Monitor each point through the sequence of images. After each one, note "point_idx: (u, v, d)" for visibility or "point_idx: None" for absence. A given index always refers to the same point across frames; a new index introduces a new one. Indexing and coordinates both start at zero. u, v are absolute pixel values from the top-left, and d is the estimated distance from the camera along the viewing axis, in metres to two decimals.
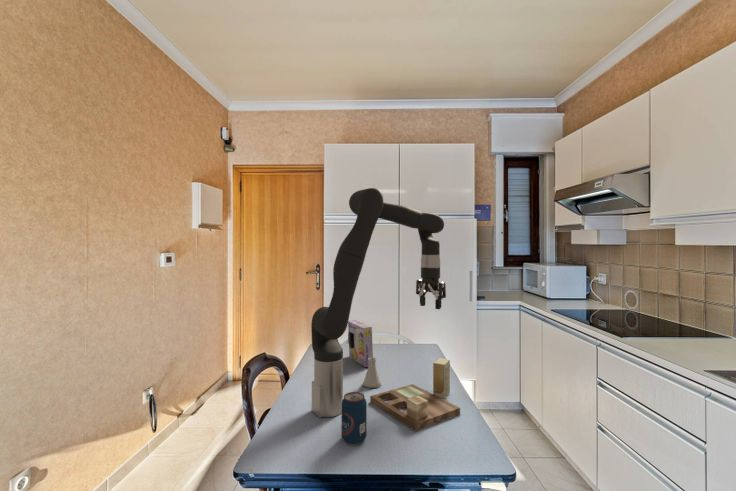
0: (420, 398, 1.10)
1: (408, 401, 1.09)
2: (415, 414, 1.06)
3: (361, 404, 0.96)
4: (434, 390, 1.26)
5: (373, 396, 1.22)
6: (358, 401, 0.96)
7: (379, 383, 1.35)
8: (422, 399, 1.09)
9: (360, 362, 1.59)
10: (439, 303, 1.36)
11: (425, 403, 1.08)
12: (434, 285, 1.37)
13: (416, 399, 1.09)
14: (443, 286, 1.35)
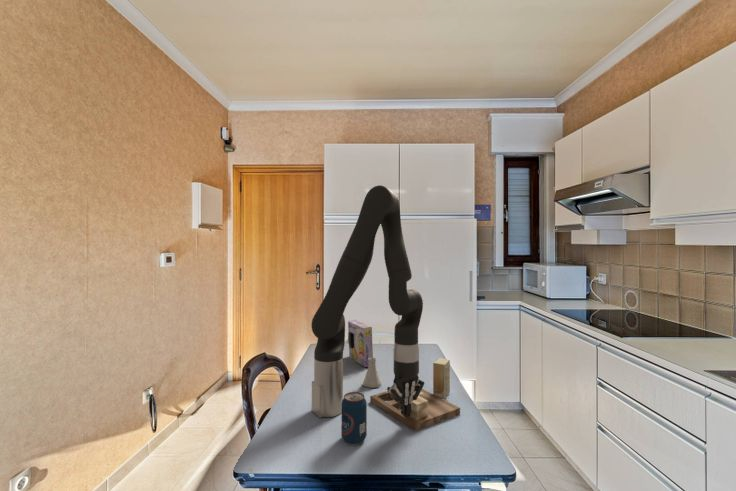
0: (420, 398, 1.10)
1: None
2: (415, 414, 1.06)
3: (361, 404, 0.96)
4: (434, 390, 1.26)
5: (373, 396, 1.22)
6: (358, 401, 0.96)
7: (379, 383, 1.35)
8: (422, 399, 1.09)
9: (360, 362, 1.59)
10: None
11: (425, 403, 1.08)
12: (415, 385, 1.07)
13: (417, 399, 1.09)
14: None
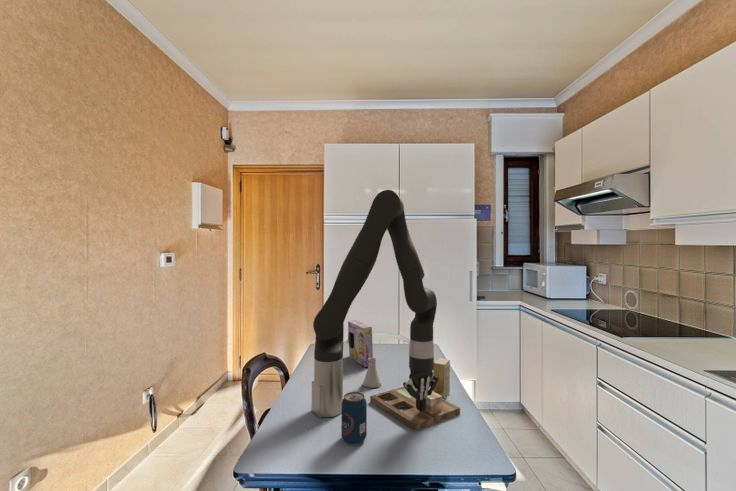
0: (434, 393, 1.13)
1: None
2: (430, 409, 1.09)
3: (361, 404, 0.96)
4: (434, 390, 1.26)
5: (373, 396, 1.22)
6: (358, 401, 0.96)
7: (379, 383, 1.35)
8: (436, 394, 1.12)
9: (360, 362, 1.59)
10: None
11: (439, 398, 1.11)
12: (430, 380, 1.10)
13: (431, 395, 1.12)
14: None
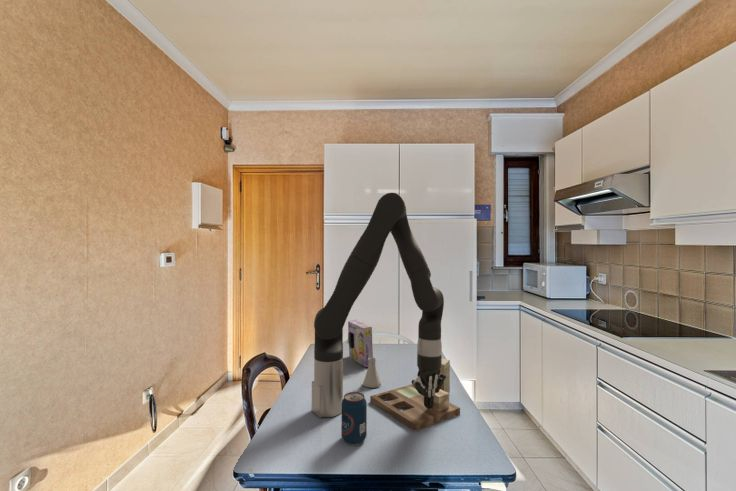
0: (441, 391, 1.15)
1: None
2: (438, 406, 1.11)
3: (361, 404, 0.96)
4: None
5: (373, 396, 1.22)
6: (358, 401, 0.96)
7: (379, 383, 1.35)
8: (443, 392, 1.14)
9: (360, 362, 1.59)
10: None
11: (447, 395, 1.13)
12: (438, 378, 1.12)
13: (438, 392, 1.14)
14: None
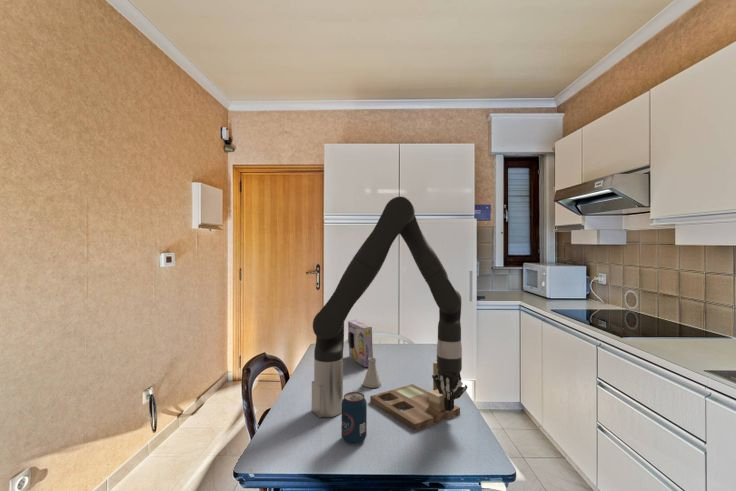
0: None
1: (430, 394, 1.14)
2: (438, 406, 1.11)
3: (361, 404, 0.96)
4: None
5: (373, 396, 1.22)
6: (358, 401, 0.96)
7: (379, 383, 1.35)
8: None
9: (360, 362, 1.59)
10: None
11: None
12: None
13: (438, 392, 1.14)
14: None
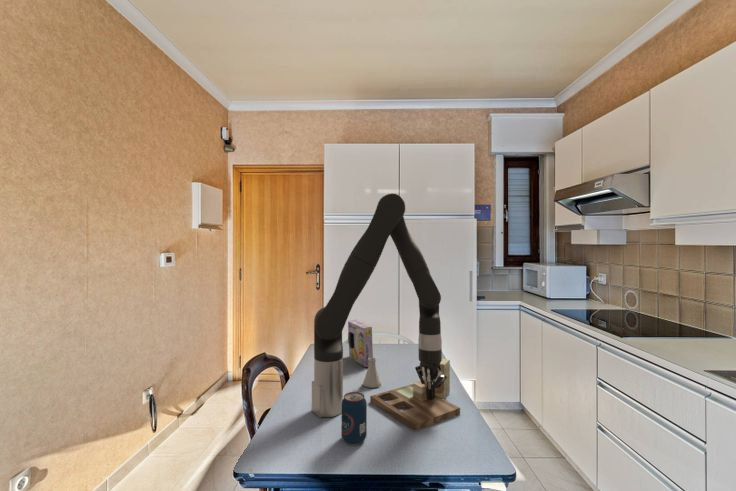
0: None
1: (414, 385, 1.21)
2: (420, 396, 1.19)
3: (361, 404, 0.96)
4: None
5: (373, 396, 1.22)
6: (358, 401, 0.96)
7: (379, 383, 1.35)
8: None
9: (360, 362, 1.59)
10: None
11: None
12: None
13: (421, 383, 1.21)
14: None
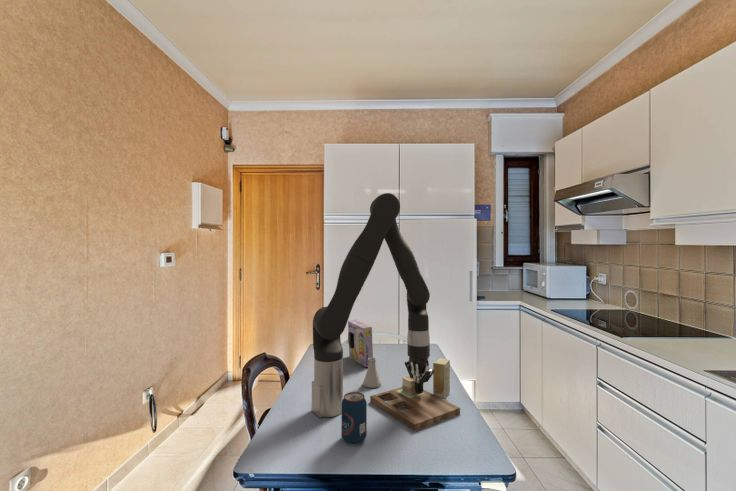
0: None
1: (403, 379, 1.26)
2: (409, 390, 1.23)
3: (361, 404, 0.96)
4: (434, 390, 1.26)
5: (373, 396, 1.22)
6: (358, 401, 0.96)
7: (379, 383, 1.35)
8: None
9: (360, 362, 1.59)
10: None
11: None
12: None
13: (410, 378, 1.26)
14: None
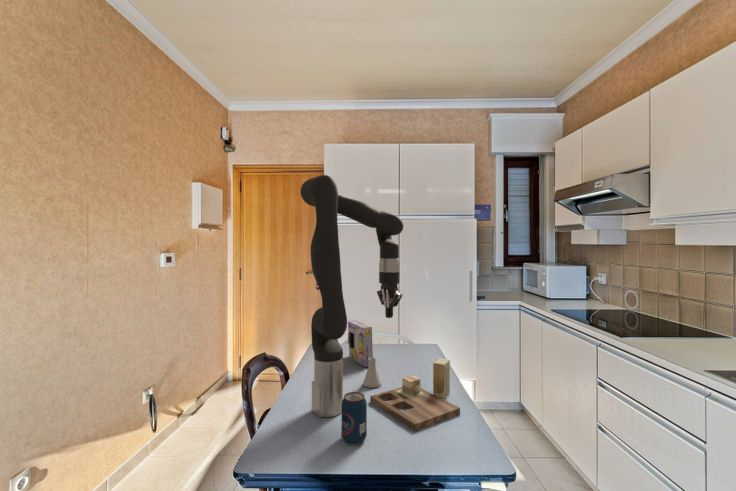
0: (413, 377, 1.27)
1: (403, 379, 1.26)
2: (409, 390, 1.24)
3: (361, 404, 0.96)
4: (434, 390, 1.26)
5: (373, 396, 1.22)
6: (358, 401, 0.96)
7: (379, 383, 1.35)
8: (415, 378, 1.27)
9: (360, 362, 1.59)
10: None
11: (418, 381, 1.25)
12: None
13: (410, 378, 1.26)
14: None
